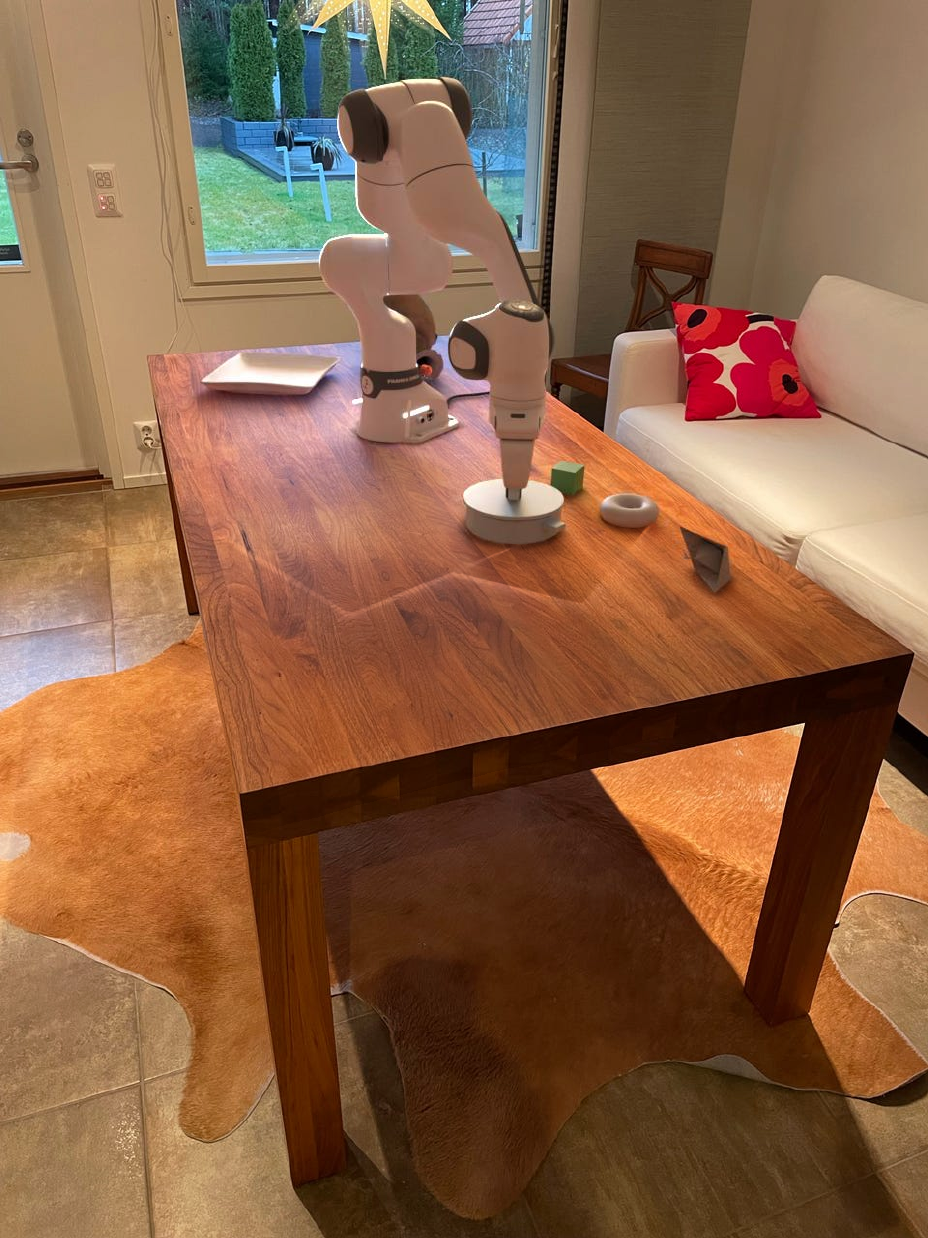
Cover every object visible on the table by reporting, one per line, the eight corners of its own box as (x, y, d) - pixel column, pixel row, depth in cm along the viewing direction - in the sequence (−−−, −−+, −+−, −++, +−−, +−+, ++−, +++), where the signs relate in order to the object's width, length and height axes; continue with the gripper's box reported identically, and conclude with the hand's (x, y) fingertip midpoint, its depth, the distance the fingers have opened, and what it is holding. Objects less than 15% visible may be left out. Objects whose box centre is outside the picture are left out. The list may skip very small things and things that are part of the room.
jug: (358, 355, 250) (394, 404, 229) (343, 285, 236) (380, 331, 215) (427, 335, 254) (468, 381, 233) (417, 265, 240) (460, 308, 220)
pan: (501, 496, 165) (502, 472, 163) (591, 533, 152) (593, 508, 150) (436, 519, 156) (436, 495, 154) (525, 561, 143) (526, 534, 140)
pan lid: (512, 477, 162) (513, 449, 159) (584, 505, 151) (586, 475, 149) (442, 501, 152) (442, 471, 149) (513, 533, 142) (515, 501, 139)
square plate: (240, 365, 240) (238, 350, 238) (342, 370, 236) (342, 355, 235) (200, 394, 216) (198, 378, 214) (313, 401, 213) (312, 384, 211)
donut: (653, 536, 152) (662, 512, 160) (655, 517, 150) (664, 494, 158) (593, 527, 154) (605, 504, 162) (594, 508, 153) (607, 486, 161)
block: (559, 483, 171) (561, 460, 168) (582, 488, 169) (584, 464, 167) (549, 492, 167) (551, 468, 165) (573, 497, 165) (575, 472, 163)
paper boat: (757, 578, 136) (719, 579, 130) (726, 602, 140) (689, 604, 135) (718, 513, 141) (680, 512, 135) (690, 538, 145) (652, 538, 139)
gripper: (497, 391, 153) (495, 470, 160) (496, 431, 135) (493, 518, 142) (535, 392, 153) (531, 471, 160) (539, 432, 135) (534, 519, 142)
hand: (513, 493), depth 151 cm, fingers closed on pan lid, 2 cm apart
